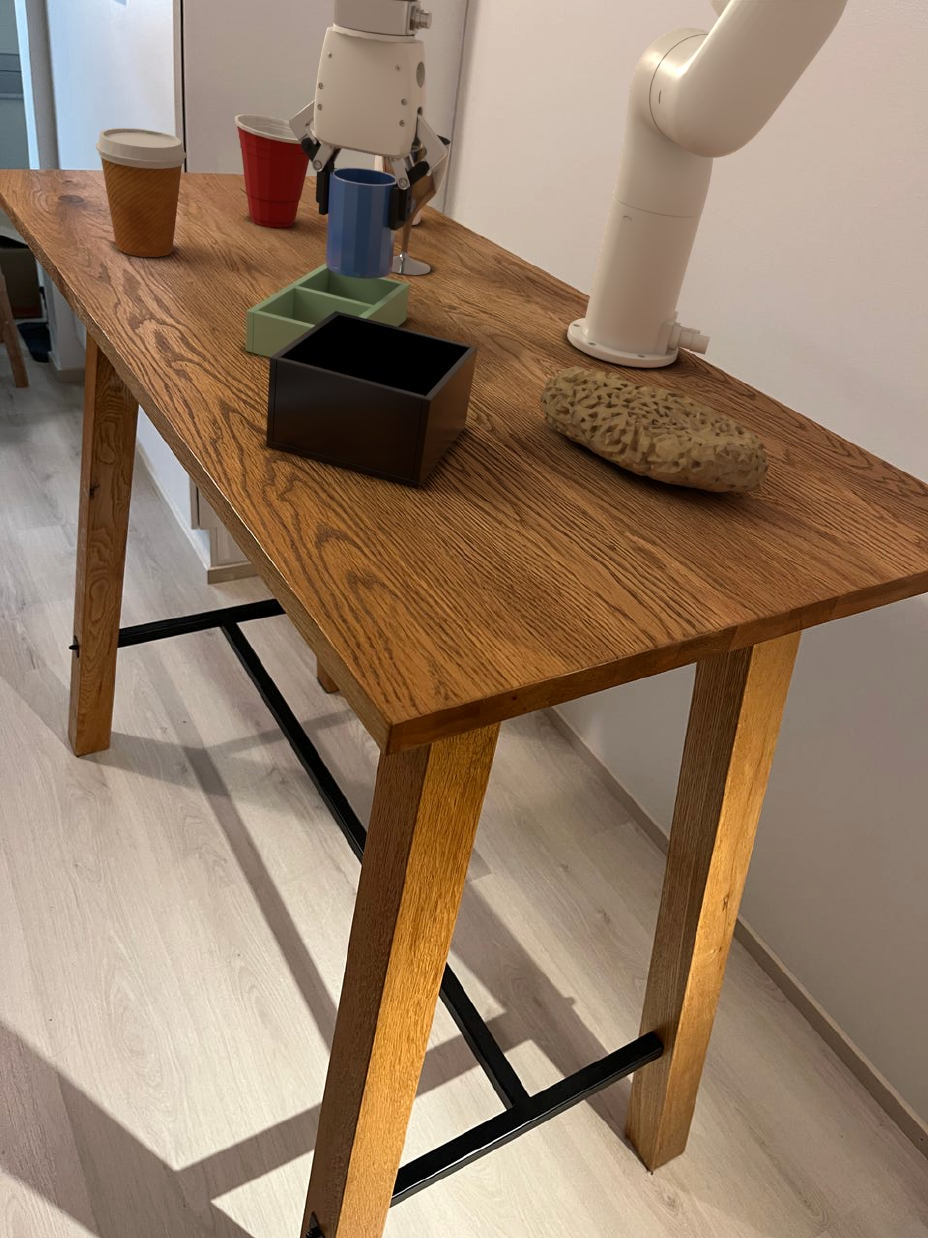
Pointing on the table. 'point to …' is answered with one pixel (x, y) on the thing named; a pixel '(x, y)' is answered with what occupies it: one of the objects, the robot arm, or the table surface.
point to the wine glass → (418, 206)
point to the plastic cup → (271, 168)
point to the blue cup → (360, 223)
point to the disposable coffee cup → (142, 188)
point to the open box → (369, 397)
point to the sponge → (654, 431)
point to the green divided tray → (322, 307)
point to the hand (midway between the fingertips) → (362, 218)
